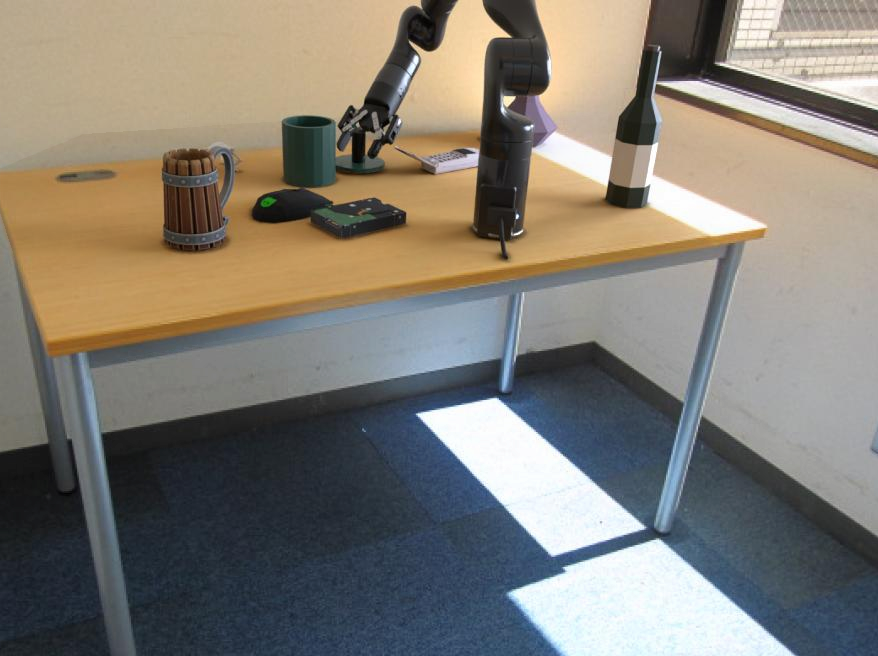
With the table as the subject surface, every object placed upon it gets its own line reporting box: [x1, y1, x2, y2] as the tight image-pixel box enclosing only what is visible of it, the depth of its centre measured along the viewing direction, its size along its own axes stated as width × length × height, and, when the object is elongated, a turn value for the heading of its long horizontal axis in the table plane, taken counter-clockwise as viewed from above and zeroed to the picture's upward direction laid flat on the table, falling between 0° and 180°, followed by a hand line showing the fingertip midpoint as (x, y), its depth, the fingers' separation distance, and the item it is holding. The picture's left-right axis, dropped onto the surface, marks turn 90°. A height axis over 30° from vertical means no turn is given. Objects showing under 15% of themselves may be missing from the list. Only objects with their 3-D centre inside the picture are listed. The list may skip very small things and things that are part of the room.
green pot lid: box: [336, 130, 386, 174], centre depth 193 cm, size 12×12×8 cm
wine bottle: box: [604, 44, 663, 209], centre depth 173 cm, size 8×8×30 cm
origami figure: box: [205, 141, 244, 173], centre depth 189 cm, size 12×8×5 cm
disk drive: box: [309, 197, 407, 239], centre depth 163 cm, size 10×3×15 cm
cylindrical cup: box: [281, 114, 337, 188], centre depth 183 cm, size 11×11×12 cm
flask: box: [506, 95, 559, 148], centre depth 214 cm, size 16×16×20 cm
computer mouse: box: [251, 187, 334, 224], centre depth 168 cm, size 11×16×4 cm
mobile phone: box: [393, 145, 479, 175], centre depth 195 cm, size 6×6×25 cm
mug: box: [161, 146, 236, 252], centre depth 151 cm, size 16×11×15 cm
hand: (354, 153), depth 192 cm, fingers open, 8 cm apart
